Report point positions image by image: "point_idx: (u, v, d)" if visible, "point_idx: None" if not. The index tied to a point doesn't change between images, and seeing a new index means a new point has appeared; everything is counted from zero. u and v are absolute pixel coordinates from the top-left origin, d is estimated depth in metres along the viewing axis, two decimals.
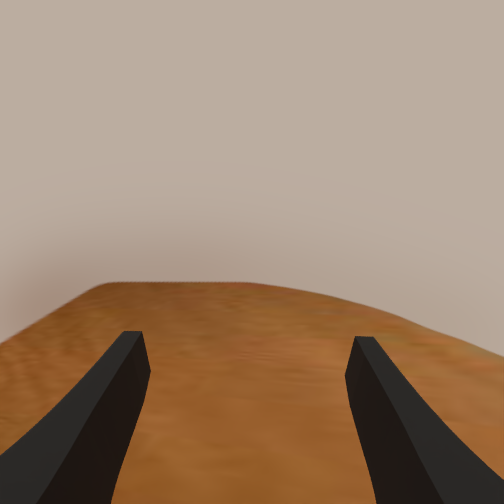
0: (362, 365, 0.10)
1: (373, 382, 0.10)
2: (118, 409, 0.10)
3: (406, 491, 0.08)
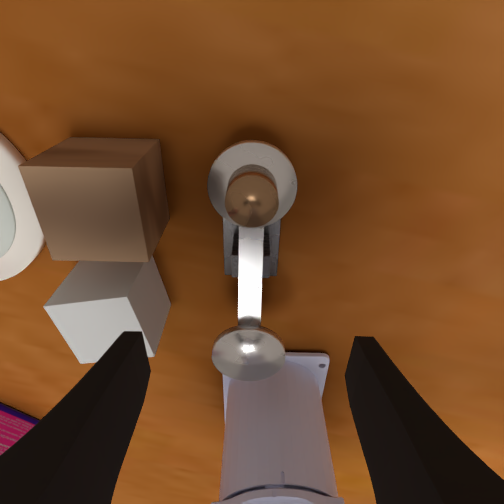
0: (362, 365, 0.10)
1: (373, 382, 0.10)
2: (118, 409, 0.10)
3: (406, 491, 0.08)
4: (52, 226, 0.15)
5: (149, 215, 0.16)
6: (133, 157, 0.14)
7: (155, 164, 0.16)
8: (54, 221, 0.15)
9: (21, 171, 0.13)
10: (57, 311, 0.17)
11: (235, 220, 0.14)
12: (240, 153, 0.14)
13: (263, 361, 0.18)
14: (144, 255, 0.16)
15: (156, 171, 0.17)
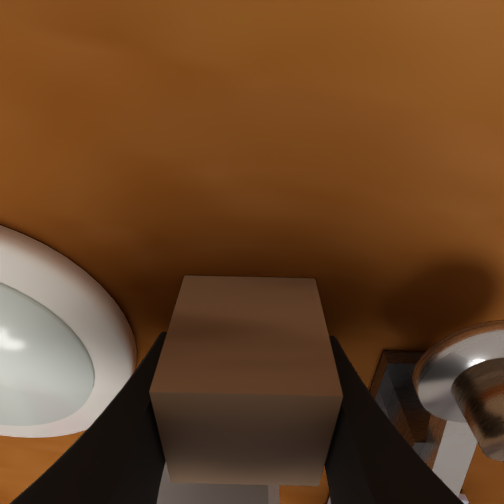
0: None
1: None
2: None
3: (350, 490, 0.08)
4: (184, 451, 0.09)
5: None
6: (318, 349, 0.09)
7: None
8: (188, 447, 0.09)
9: (153, 397, 0.08)
10: None
11: (489, 455, 0.09)
12: (494, 344, 0.09)
13: None
14: (314, 479, 0.10)
15: None
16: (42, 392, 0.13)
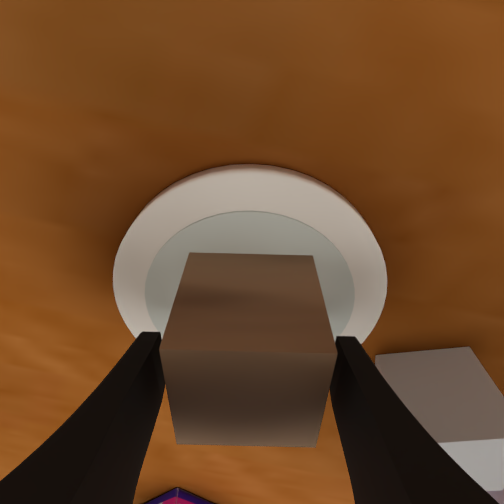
0: (342, 365, 0.10)
1: (352, 382, 0.10)
2: (139, 410, 0.09)
3: (379, 490, 0.08)
4: (189, 412, 0.10)
5: None
6: (315, 315, 0.10)
7: None
8: (194, 407, 0.10)
9: (162, 355, 0.09)
10: None
11: None
12: None
13: None
14: (311, 440, 0.11)
15: None
16: None
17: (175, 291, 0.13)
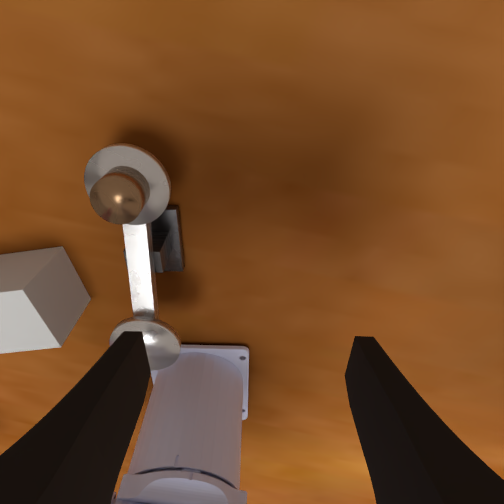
0: (362, 365, 0.10)
1: (373, 382, 0.10)
2: (118, 409, 0.10)
3: (406, 491, 0.08)
4: None
5: None
6: None
7: None
8: None
9: None
10: None
11: (104, 217, 0.15)
12: (109, 155, 0.15)
13: (159, 351, 0.20)
14: None
15: None
16: None
17: None
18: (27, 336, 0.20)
